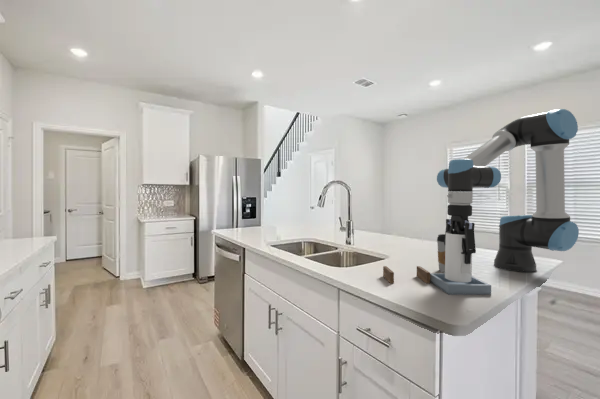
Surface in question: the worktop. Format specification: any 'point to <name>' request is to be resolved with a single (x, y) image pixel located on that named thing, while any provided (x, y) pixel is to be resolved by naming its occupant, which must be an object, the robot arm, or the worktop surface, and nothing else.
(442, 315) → the worktop surface
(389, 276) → the clip rails
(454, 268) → the cup
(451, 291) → the tray
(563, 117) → the robot arm
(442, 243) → the coffee cup
